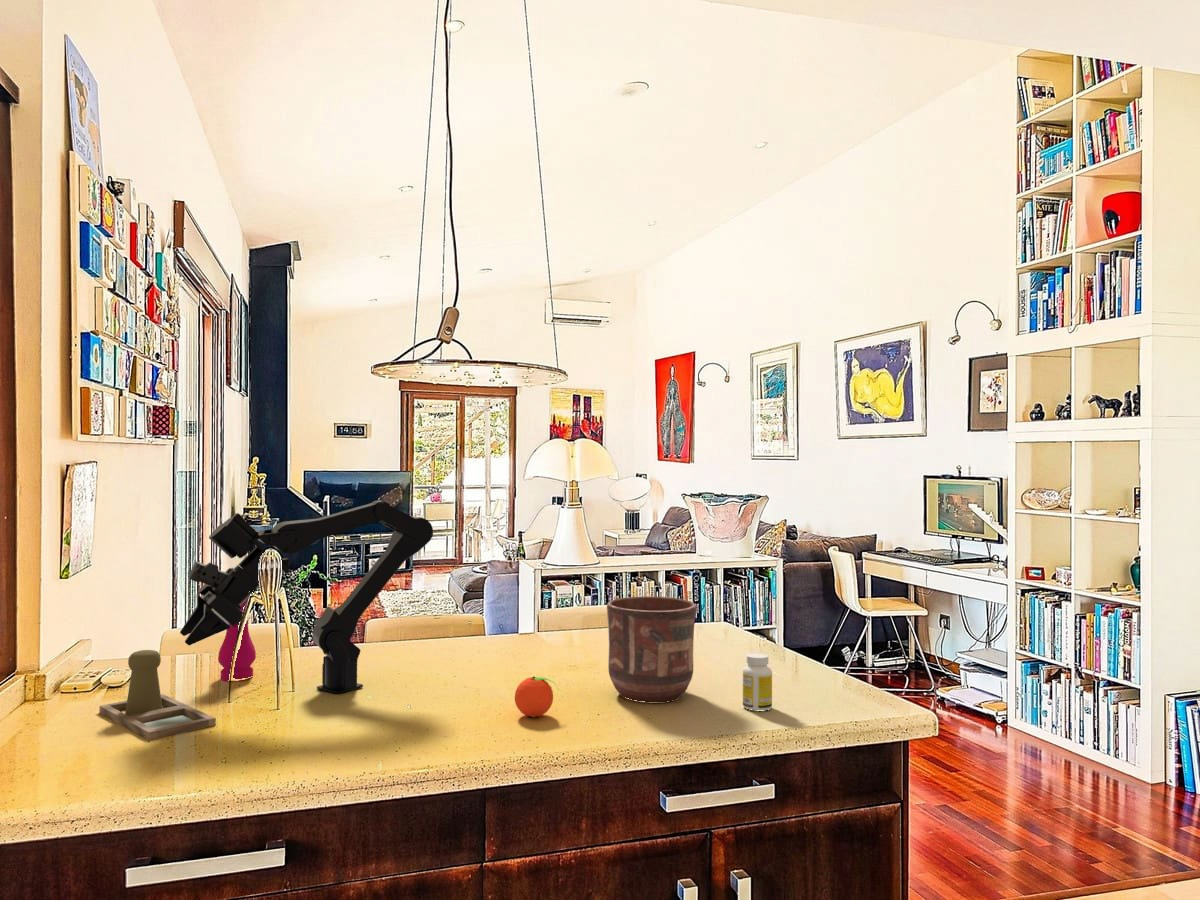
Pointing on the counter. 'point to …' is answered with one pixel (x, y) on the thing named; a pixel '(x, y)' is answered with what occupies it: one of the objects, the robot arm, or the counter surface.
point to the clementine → (534, 696)
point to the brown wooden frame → (159, 718)
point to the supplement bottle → (757, 683)
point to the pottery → (651, 647)
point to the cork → (144, 682)
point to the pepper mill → (244, 654)
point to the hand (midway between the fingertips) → (184, 638)
